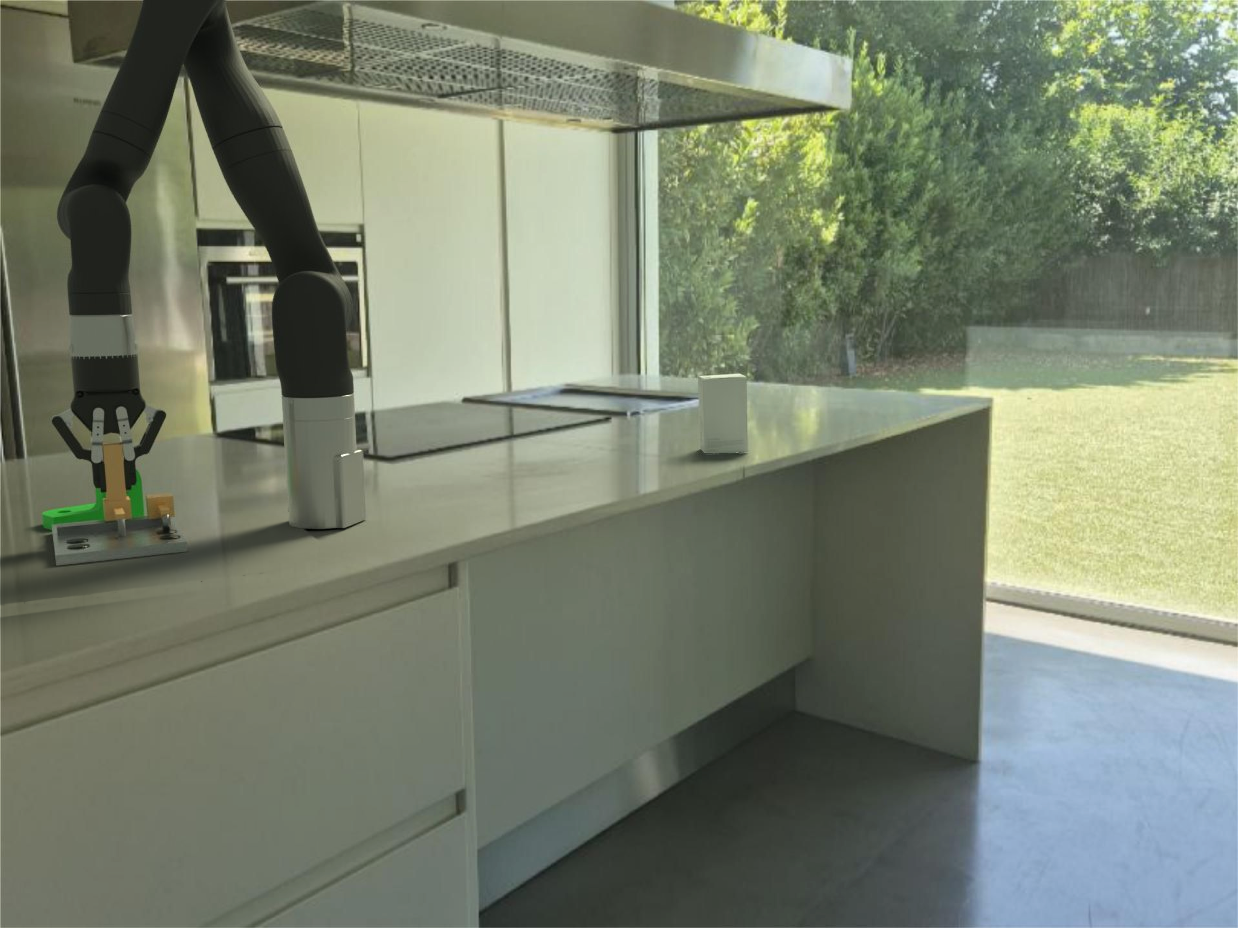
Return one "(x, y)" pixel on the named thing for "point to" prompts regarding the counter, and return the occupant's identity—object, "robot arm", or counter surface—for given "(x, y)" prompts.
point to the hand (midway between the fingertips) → (115, 490)
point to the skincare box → (723, 413)
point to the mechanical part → (94, 508)
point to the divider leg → (115, 487)
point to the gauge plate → (106, 544)
